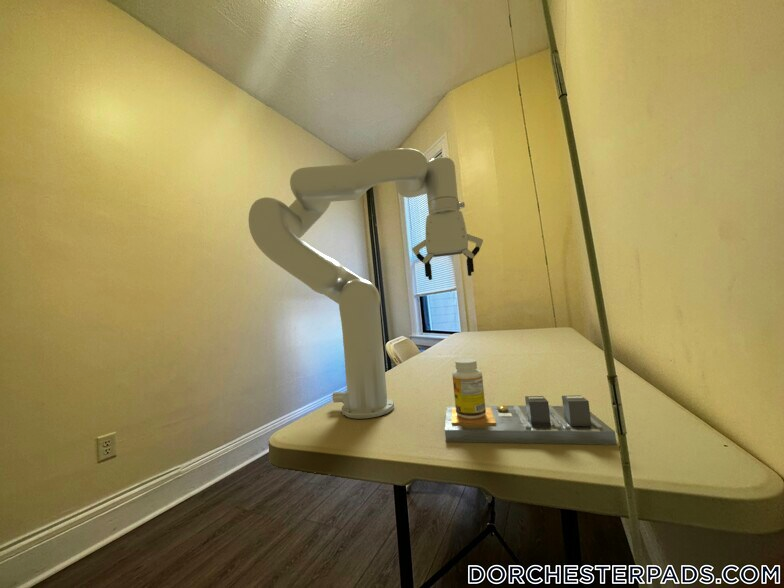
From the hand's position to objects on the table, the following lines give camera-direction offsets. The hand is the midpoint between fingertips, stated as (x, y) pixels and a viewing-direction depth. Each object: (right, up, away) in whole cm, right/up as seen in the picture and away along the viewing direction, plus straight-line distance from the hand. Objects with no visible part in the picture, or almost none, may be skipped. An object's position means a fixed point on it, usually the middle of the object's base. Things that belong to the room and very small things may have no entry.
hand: (449, 277), depth 71 cm
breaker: (+17, -26, -23) cm, 38 cm away
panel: (+9, -29, -18) cm, 35 cm away
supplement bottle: (+1, -27, -17) cm, 32 cm away
